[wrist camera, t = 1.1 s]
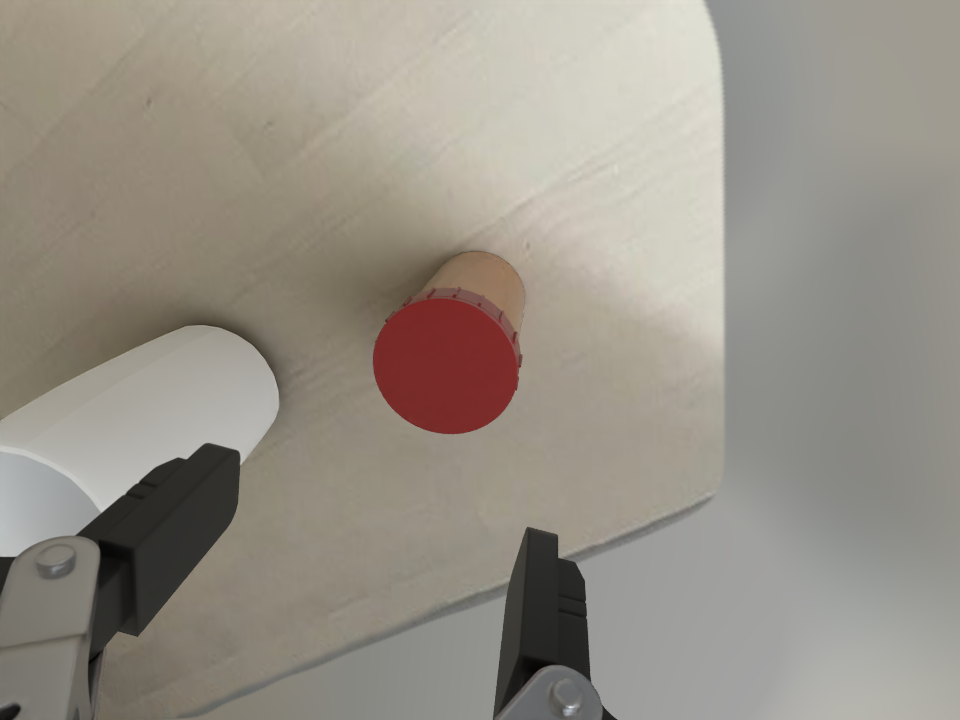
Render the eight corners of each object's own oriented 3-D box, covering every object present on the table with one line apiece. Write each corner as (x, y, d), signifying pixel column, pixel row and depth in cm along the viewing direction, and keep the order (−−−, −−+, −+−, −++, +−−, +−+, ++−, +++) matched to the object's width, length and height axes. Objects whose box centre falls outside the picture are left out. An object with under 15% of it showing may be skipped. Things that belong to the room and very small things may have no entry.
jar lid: (401, 265, 22) (390, 276, 21) (542, 313, 22) (541, 327, 21) (368, 391, 25) (356, 407, 23) (497, 434, 25) (493, 454, 23)
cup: (158, 418, 37) (-62, 579, 24) (162, 296, 33) (-92, 405, 20) (285, 455, 37) (134, 638, 24) (301, 336, 33) (136, 472, 20)
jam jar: (444, 237, 30) (399, 282, 21) (539, 269, 30) (531, 327, 21) (419, 326, 32) (368, 400, 23) (507, 356, 32) (489, 441, 23)
